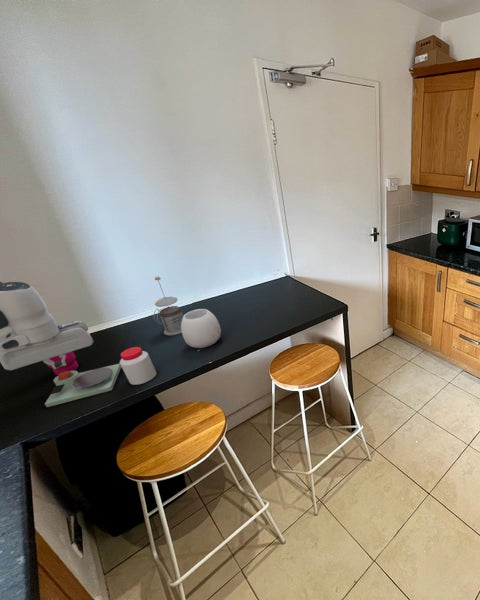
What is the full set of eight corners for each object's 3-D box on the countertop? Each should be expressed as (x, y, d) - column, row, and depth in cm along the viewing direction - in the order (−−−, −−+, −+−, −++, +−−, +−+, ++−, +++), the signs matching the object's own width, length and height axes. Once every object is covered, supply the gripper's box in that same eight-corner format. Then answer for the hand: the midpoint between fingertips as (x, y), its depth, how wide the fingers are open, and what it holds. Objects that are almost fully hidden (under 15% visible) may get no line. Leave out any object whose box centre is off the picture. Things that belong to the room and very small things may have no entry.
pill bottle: (136, 387, 105) (122, 361, 100) (124, 380, 108) (111, 354, 103) (161, 374, 111) (149, 349, 106) (149, 367, 114) (138, 342, 109)
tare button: (58, 381, 104) (56, 377, 103) (62, 376, 106) (59, 372, 105) (70, 378, 105) (68, 374, 104) (73, 373, 107) (71, 369, 107)
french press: (195, 324, 141) (177, 273, 129) (173, 338, 131) (151, 284, 119) (177, 322, 143) (157, 271, 131) (153, 335, 133) (131, 282, 121)
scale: (44, 407, 97) (39, 400, 95) (61, 380, 108) (57, 373, 106) (112, 390, 104) (108, 383, 102) (121, 366, 115) (118, 359, 113)
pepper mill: (67, 376, 110) (37, 328, 101) (47, 376, 110) (15, 327, 101) (86, 363, 116) (59, 316, 107) (67, 363, 116) (39, 316, 107)
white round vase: (229, 341, 129) (220, 313, 123) (194, 356, 120) (183, 326, 114) (215, 330, 137) (207, 303, 131) (182, 343, 128) (171, 314, 122)
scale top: (48, 397, 97) (47, 396, 96) (60, 378, 104) (60, 377, 104) (108, 382, 103) (108, 381, 103) (116, 365, 111) (115, 364, 110)
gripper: (82, 315, 106) (100, 349, 112) (-10, 340, 93) (16, 376, 99) (83, 322, 102) (102, 356, 108) (-13, 349, 89) (15, 386, 95)
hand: (60, 366), depth 104 cm, fingers closed
